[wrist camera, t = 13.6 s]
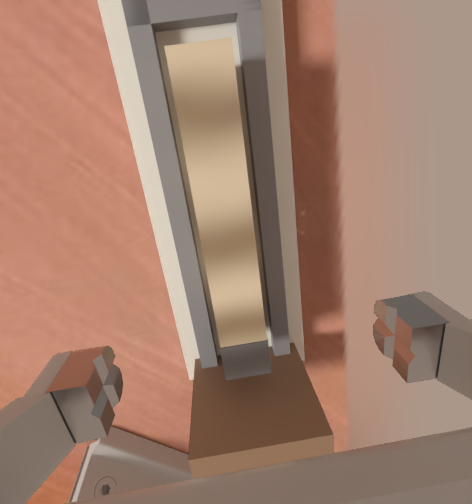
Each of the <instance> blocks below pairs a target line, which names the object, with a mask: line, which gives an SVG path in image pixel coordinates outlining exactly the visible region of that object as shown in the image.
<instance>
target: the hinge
mask: <svg viewBox="0 0 472 504" xmlns="http://www.w3.org/2000/svg"><path fill="white" fill-rule="evenodd" d="M187 480H193V476H192V473H191V469H190V466H189V462H188V454H186V453H183V452H180V451H177V450H175V449H172V448H169V447H167V446H164V445H161V444H159V443H156V442H153V441H150V440H148V439H145V438H142V437H140V436H137V435H134V434H131V433H129V432H126V431H123V430H121V429H118V428H115V427H112V426H111V428H110V431H109V434H108V437H105V438H100V439H98V441H96V442H94V443H92V444H90V447H89V448H88V447H87V449H86V452H85V455H84V458H83V461H82V464H81V467H80V470H79V473H78V476H77V479H76V482H75V485H74V488H73V491H72V494H71V497H70V500H69V503H70V502H75V501H81V500H86V499H91V498H97V497H102V496H107V495H113V494H118V493H123V492H129V491H134V490H139V489H145V488H150V487H155V486H161V485H166V484H171V483H177V482H182V481H187Z"/></svg>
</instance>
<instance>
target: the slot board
mask: <svg viewBox="0 0 472 504" xmlns="http://www.w3.org/2000/svg"><path fill="white" fill-rule="evenodd" d="M97 1H98V5H99V9H100V13H101V17H102V21H103V25H104V29H105V34H106V38H107V42H108V46H109V50H110V54H111V58H112V62H113V66H114V71H115V75H116V79H117V83H118V87H119V91H120V95H121V99H122V103H123V108H124V112H125V116H126V120H127V124H128V128H129V132H130V136H131V140H132V145H133V149H134V153H135V157H136V161H137V165H138V169H139V173H140V178H141V182H142V186H143V190H144V194H145V198H146V202H147V206H148V210H149V215H150V219H151V223H152V227H153V231H154V235H155V239H156V243H157V247H158V252H159V256H160V260H161V264H162V268H163V272H164V276H165V280H166V284H167V289H168V293H169V297H170V301H171V305H172V309H173V313H174V317H175V322H176V326H177V330H178V334H179V338H180V342H181V346H182V350H183V354H184V359H185V363H186V367H187V371H188V375H189V379H190V380H194V382H193V396H192V411H191V425H190V440H189V454H188V462H189V466H190V469H191V473H192V476H193V479H198V478H203V477H209V476H214V475H219V474H225V473H230V472H235V471H241V470H246V469H251V468H257V467H262V466H268V465H273V464H278V463H284V462H289V461H294V460H300V459H305V458H310V457H316V456H321V455H326V454H332V453H334V438H333V432H332V430H331V428H330V425H329V423H328V421H327V418H326V416H325V414H324V411H323V409H322V407H321V404H320V402H319V400H318V397H317V395H316V393H315V390H314V388H313V386H312V383H311V381H310V379H309V376H308V374H307V372H306V369H305V367H304V365H303V362H302V361H305V352H304V337H303V321H302V306H301V290H300V275H299V259H298V244H297V228H296V213H295V197H294V182H293V166H292V151H291V135H290V120H289V104H288V89H287V73H286V58H285V42H284V27H283V11H282V0H97ZM229 37H232V44H233V52H234V61H235V70H236V78H237V87H238V95H239V104H240V112H241V121H242V129H243V138H244V147H245V155H246V164H247V172H248V181H249V189H250V198H251V206H252V215H253V224H254V232H255V241H256V249H257V258H258V266H259V275H260V283H261V292H262V301H263V309H264V318H265V326H266V335H267V339H268V345H269V354H270V362H271V371H272V373H267V374H261V375H255V376H249V377H244V378H238V379H232V380H226V379H225V374H224V368H223V363H222V358H221V352H220V343H219V337H218V332H217V327H216V321H215V316H214V311H213V305H212V300H211V294H210V289H209V284H208V278H207V273H206V268H205V262H204V257H203V251H202V246H201V241H200V235H199V230H198V225H197V219H196V214H195V209H194V203H193V198H192V192H191V187H190V182H189V176H188V171H187V166H186V160H185V155H184V150H183V144H182V139H181V133H180V128H179V123H178V117H177V112H176V107H175V101H174V96H173V90H172V85H171V80H170V74H169V69H168V64H167V58H166V53H165V48H164V46H169V45H176V44H184V43H192V42H199V41H207V40H214V39H222V38H229Z"/></svg>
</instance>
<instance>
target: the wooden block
mask: <svg viewBox="0 0 472 504" xmlns="http://www.w3.org/2000/svg"><path fill="white" fill-rule="evenodd" d="M164 48H165V53H166V58H167V64H168V69H169V74H170V80H171V85H172V90H173V96H174V101H175V107H176V112H177V117H178V123H179V128H180V133H181V139H182V144H183V150H184V155H185V160H186V166H187V171H188V176H189V182H190V187H191V192H192V198H193V203H194V209H195V214H196V219H197V225H198V230H199V235H200V241H201V246H202V251H203V257H204V262H205V268H206V273H207V278H208V284H209V289H210V294H211V300H212V305H213V311H214V316H215V321H216V327H217V332H218V337H219V343H220V352H221V358H222V363H223V368H224V374H225V379H226V380H232V379H238V378H244V377H249V376H255V375H261V374H267V373H272V371H271V362H270V354H269V345H268V339H267V335H266V326H265V318H264V309H263V301H262V292H261V283H260V275H259V266H258V258H257V249H256V241H255V232H254V224H253V215H252V206H251V198H250V189H249V181H248V172H247V164H246V155H245V147H244V138H243V129H242V121H241V112H240V104H239V95H238V87H237V78H236V70H235V61H234V52H233V44H232V37H229V38H222V39H214V40H207V41H199V42H192V43H184V44H176V45H169V46H164Z"/></svg>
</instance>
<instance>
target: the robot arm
mask: <svg viewBox="0 0 472 504" xmlns="http://www.w3.org/2000/svg"><path fill="white" fill-rule="evenodd" d="M374 313H375V314H376V316H377V317H378V319H377V320H376V322H375V323H374V325H373V335H374V338H375V342H376V344H377V346H378V348H379V350H380V351H381V352H382V353H383V354H384V355H385V356H387V357H389V358H391V359H393V367H394V368H395V369H396V370H397V372H398V373H399V374H400V375H401V377H402V378H403V379H404V380H405V381H406V382H407V383H411V382H418V381H424V380H431V379H437V380H438V381H440V382H441V383H443V384H445V385H447V386H449V387H450V388H452V389H454V390H455V391H457V392H459V393H461V394H463V395H464V396H466V397H468V398H470V399H471V400H472V319H471V320H469V319H467V318H466V317H464V316H463V315H461V314H460V313H459V312H457V311H455V310H454V309H453V308H451V307H450V306H448V305H447V304H445V303H444V302H442V301H441V300H439V299H438V298H437V297H435V296H434V295H432V294H431V293H429V292H425V291H423V292H418V293H414V294H408V295H405V296H400V297H394V298H389V299H384V300H378V301H376V302H375V305H374ZM114 358H115V355H114V352H113V350H112V348H111V347H109V346H102V347H96V348H89V349H82V350H75V351H69V352H63V353H58V354H56V355H54V356H53V357H52V358H51V360H50V361H49V362H48V364H47V365H46V367H45V368H44V369H43V371H42V372H41V373H40V375H39V376H38V378H37V379H36V380H35V382H34V383H33V384H32V386H31V387H30V389H29V390H28V391H27V393H26V394H25V395H24V397H21V398H17V399H15V400H14V401H13V402H11V403H10V404H8V405H7V406H5V407H4V408H3V409H1V410H0V504H25V503H26V502H27V501H28V500H29V499H30V498H31V496H32V495H33V494H34V493H35V492H36V491H37V489H38V488H39V487H40V486H41V485H42V484H43V482H44V481H45V480H46V479H47V478H48V477H49V476H50V474H51V473H52V472H53V471H54V470H55V469H56V467H57V466H58V465H59V464H60V463H61V462H62V461H63V459H64V458H65V457H66V456H67V455H68V454H69V452H70V451H71V450H72V449H73V448H74V447H75V444H77V443H81V442H86V441H91V440H96V439H100V438H105V437H108V434H109V431H110V428H111V425H112V422H113V419H114V416H115V414H114V412H113V408H114V407H115V406H116V405H117V404H118V403H119V401H120V398H121V395H122V388H123V380H122V374H121V371H120V368H118V367H117V366H115V365H114V364H112V363H113V361H114ZM65 504H472V427H471V428H466V429H460V430H455V431H450V432H445V433H439V434H433V435H428V436H423V437H418V438H412V439H407V440H401V441H396V442H391V443H386V444H380V445H375V446H369V447H364V448H358V449H353V450H348V451H342V452H337V453H332V454H326V455H321V456H316V457H310V458H305V459H300V460H294V461H289V462H284V463H278V464H273V465H268V466H262V467H257V468H251V469H246V470H241V471H235V472H230V473H225V474H219V475H214V476H209V477H203V478H198V479H193V480H187V481H182V482H177V483H171V484H166V485H161V486H155V487H150V488H145V489H139V490H134V491H129V492H123V493H118V494H113V495H107V496H102V497H97V498H91V499H86V500H81V501H75V502H70V503H65Z"/></svg>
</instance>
